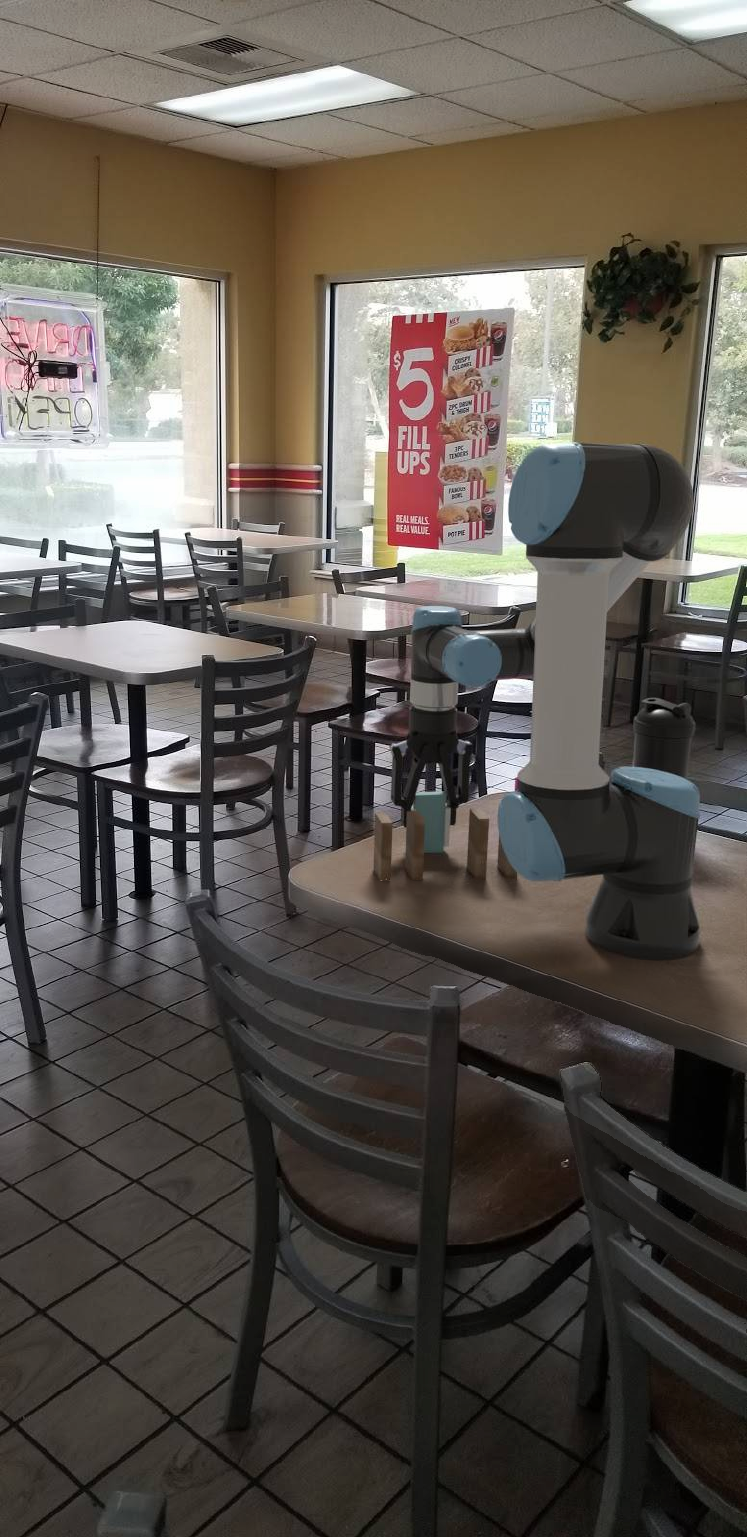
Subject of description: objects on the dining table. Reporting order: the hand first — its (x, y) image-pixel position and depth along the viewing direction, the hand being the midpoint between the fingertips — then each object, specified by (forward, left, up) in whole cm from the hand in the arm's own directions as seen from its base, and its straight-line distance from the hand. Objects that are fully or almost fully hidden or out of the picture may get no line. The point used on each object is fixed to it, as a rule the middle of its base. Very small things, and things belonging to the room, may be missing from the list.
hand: (427, 844), depth 196 cm
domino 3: (0, 0, -1) cm, 1 cm away
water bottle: (+5, -42, -1) cm, 42 cm away
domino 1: (-11, +10, -1) cm, 15 cm away
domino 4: (-11, -5, -1) cm, 12 cm away
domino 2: (-11, +5, -1) cm, 12 cm away
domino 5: (-11, -10, -1) cm, 15 cm away
